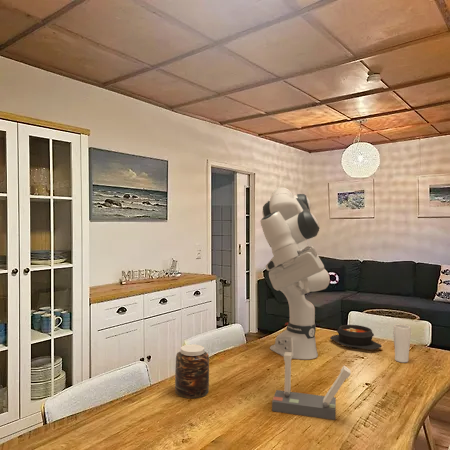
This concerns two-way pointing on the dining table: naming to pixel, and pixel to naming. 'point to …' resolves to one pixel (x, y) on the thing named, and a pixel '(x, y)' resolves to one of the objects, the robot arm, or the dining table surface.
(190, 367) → the jar
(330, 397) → the on lever
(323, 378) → the dining table surface
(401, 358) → the drinking glass
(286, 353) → the lever
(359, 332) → the casserole
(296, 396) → the panel
